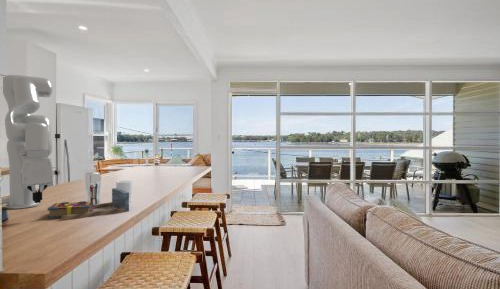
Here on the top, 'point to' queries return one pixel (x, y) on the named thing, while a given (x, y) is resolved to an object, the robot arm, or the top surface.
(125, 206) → the guide rails
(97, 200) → the beer glass
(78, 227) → the top surface
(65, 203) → the decorative book
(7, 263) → the top surface
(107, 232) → the top surface
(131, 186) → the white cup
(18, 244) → the top surface
